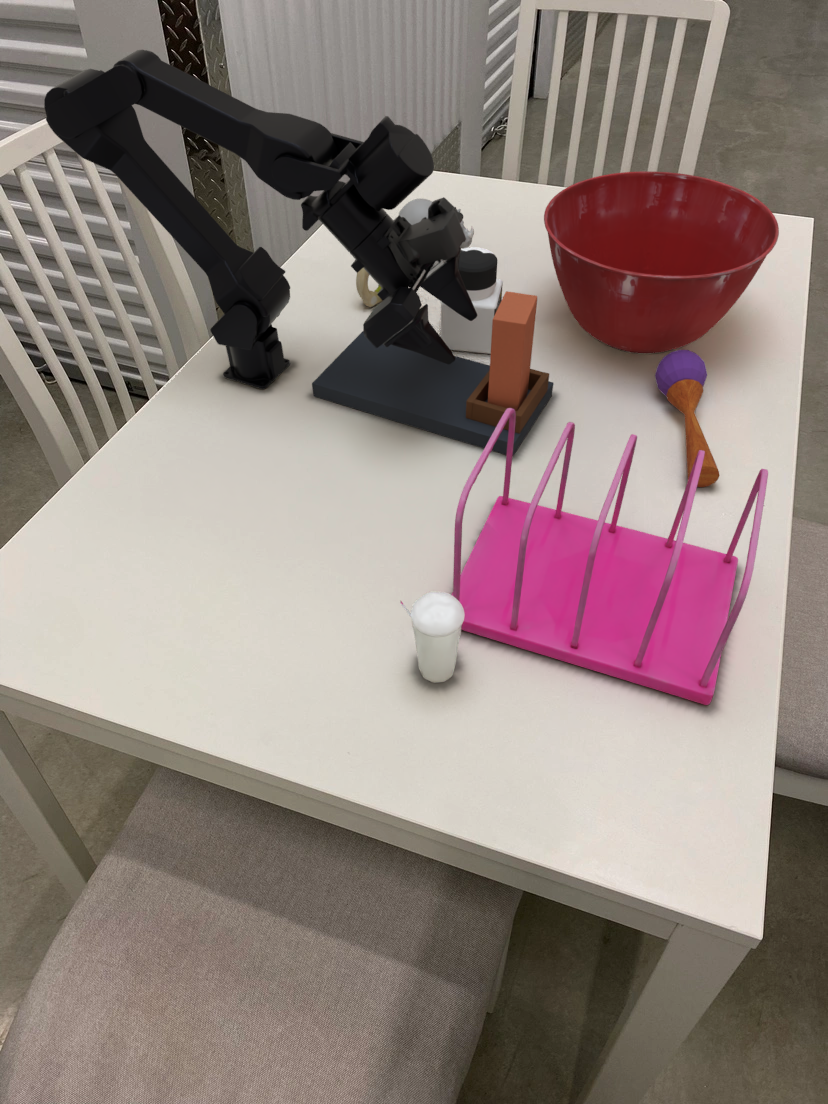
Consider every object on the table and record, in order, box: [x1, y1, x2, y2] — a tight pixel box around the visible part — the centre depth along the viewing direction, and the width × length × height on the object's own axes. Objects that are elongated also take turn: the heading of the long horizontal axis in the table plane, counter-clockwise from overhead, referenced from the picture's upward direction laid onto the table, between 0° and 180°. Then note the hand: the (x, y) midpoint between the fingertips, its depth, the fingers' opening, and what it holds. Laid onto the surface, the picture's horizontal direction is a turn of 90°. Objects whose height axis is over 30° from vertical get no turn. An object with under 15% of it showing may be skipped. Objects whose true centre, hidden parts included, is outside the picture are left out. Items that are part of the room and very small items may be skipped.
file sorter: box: [451, 408, 769, 706], centre depth 74 cm, size 17×25×16 cm
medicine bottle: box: [440, 246, 504, 355], centre depth 107 cm, size 7×7×12 cm
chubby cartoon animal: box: [398, 198, 475, 249], centre depth 123 cm, size 7×12×8 cm, turn 70°
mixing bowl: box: [543, 170, 780, 355], centre depth 107 cm, size 28×28×16 cm
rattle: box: [355, 268, 383, 308], centre depth 113 cm, size 8×8×12 cm
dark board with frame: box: [311, 330, 554, 458], centre depth 101 cm, size 27×13×4 cm, turn 63°
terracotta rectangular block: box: [488, 290, 538, 411], centre depth 93 cm, size 4×6×13 cm, turn 162°
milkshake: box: [399, 590, 464, 684], centre depth 71 cm, size 4×5×10 cm
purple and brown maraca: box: [654, 349, 720, 488], centre depth 95 cm, size 6×6×20 cm
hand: (463, 339), depth 93 cm, fingers open, 9 cm apart
